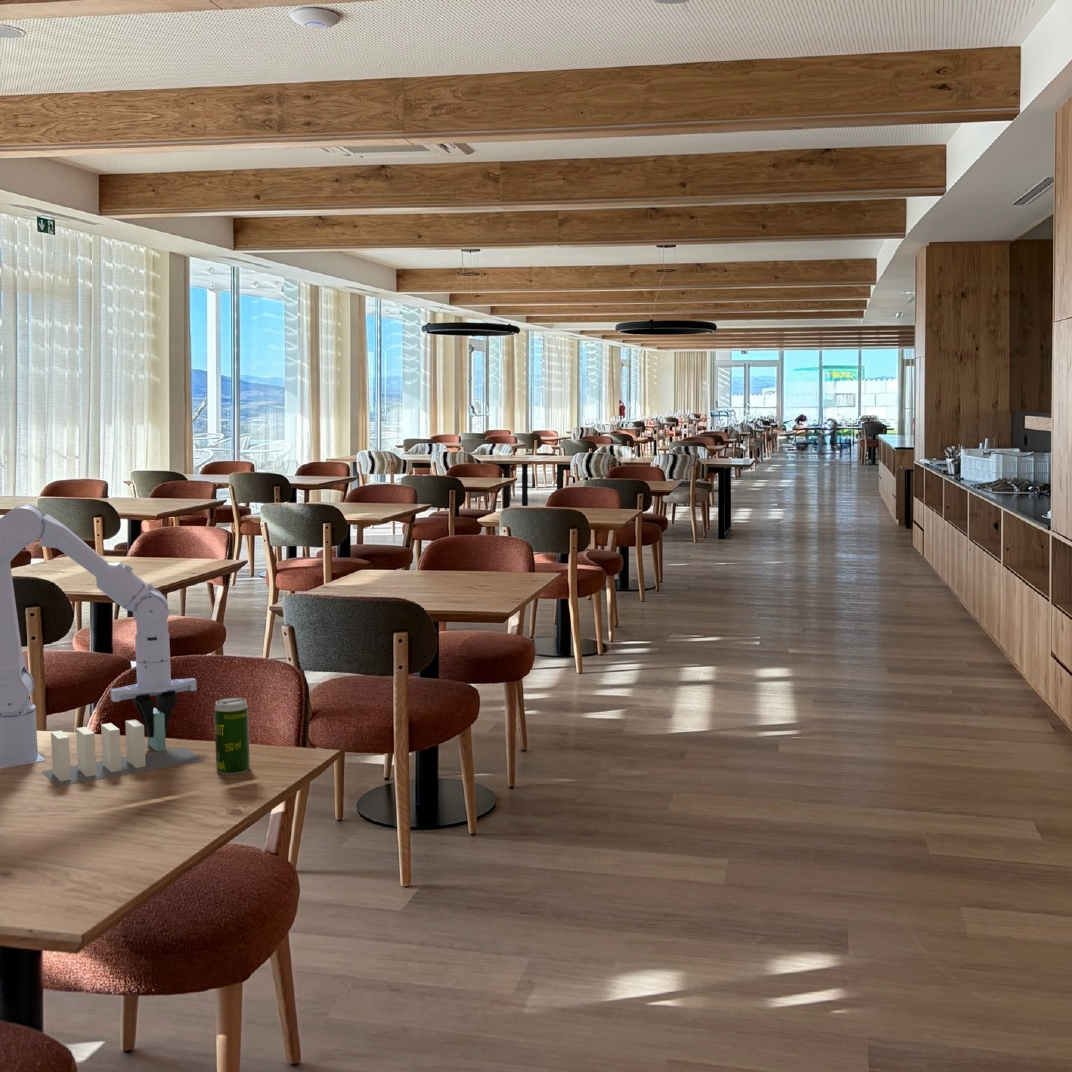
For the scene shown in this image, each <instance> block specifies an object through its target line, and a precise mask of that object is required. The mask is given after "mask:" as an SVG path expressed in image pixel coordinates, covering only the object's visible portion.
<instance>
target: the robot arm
mask: <svg viewBox="0 0 1072 1072" xmlns="http://www.w3.org/2000/svg"><path fill="white" fill-rule="evenodd" d="M37 540H40V541H39V543H38V547H45V548H53V549H57V550H59V551H60V552H62V553H63V554H64V555H66V557H68V558H70V559H71V560H72V561H74V562H76V563H77V564H78V565H79V566H81V567H82V568H84V569H85V570H86V571H88V572H89V573H90V574H92V575H93V576H94V577H95V578H96V579H95V582H96V588H97V589H98V590H99V591H101V592H102V593H103V594H104V595H106V596H107V597H108V598H109V599H111V600H112V601H113V602H114V603H116V604H117V605H119V606H120V607H121V608H122V609H124V610H125V611H129V612H132V616H133V618H134V621H135V622H136V623H135V624H136V633H135V636H134V639H135V640H134V643H135V665H136V667H135V668H136V670H135V671H136V683H134V684H131V685H126V686H125V685H124V686H122V687H115V688H110V700H111V701H112V702H114V703H116V702H117V703H118V702H121V701H125V700H130V699H131V700H132V702H133V704H134V706H135V707H136V709H137V712H138V713H139V716H140V718H141V720H142V721H141V722H142V724H143V725H144V732H145V735H146V737H147V736H148V737H149V738H152V737H153V736H154V726H153V709H154V708H155V707H154V706H155V702H154V701H153V700H152V698H151V697H152V696H155V701H156V709H158V710H160V711H161V712H163V713H164V718H165V736H167V732H168V725H169V721H170V718H171V716H172V713H173V710H174V708H175V706H176V704H177V702H178V700H179V699H178V695H177V694H176V693H180V692H181V693H182V692H187V691H190V692H194V691H197V689H198V688H197V679H195V678H193V677H190V678H180V679H179V678H176V679H172V677H171V676H172V673H171V672H172V671H171V648H170V632H169V623H168V619H169V616H170V610H169V603H168V600H167V598H166V596H165V595H163V593H162V592H161V591H160V590H157V589H154V588H155V586H154V585H153V584H152V583H148V584H147V583H146V582H145V581H144V580H142V578H140V577H139V576H138V575H136V574H135V573H134V572H133V569H134V568H133V567H132V566H131V565H130V564H128V563H126V565H124V564H123V563H122V562H120V561H119V562H108V561H107V560H105V558H103V557H102V556H101V555H100V554H99V553H98V552H96V551H95V550H94V549H93V548H92V547H91V546H90V545H88V544H87V543H86V542H85V541H84V540H82V538H80V537H79V536H78V535H77V534H75V532H73V530H71V529H70V528H68V527H67V526H66V525H65V524H63V523H62V522H60V521H59V520H57V519H56V518H54V517H53V516H52V515H49V514H48V513H47V514H45V512H43V510H42V509H41V508H40V507H38V506H36V505H34V504H29V503H24V504H20V505H17V506H15V507H14V508H13V509H11V510H9V511H8V512H6V513H5V514H4V515H2V516H1V518H0V769H6V768H10V767H12V768H13V767H17V766H22V765H23V766H24V765H30V764H34V763H35V764H37V763H41V762H46V760H45V758H44V757H43V756H42V755H41V754H40V753H39V751H38V750H39V748H38V731H37V712H36V711H37V710H36V705H35V704H33V702H32V701H31V699H30V696H31V695H32V694H33V692H34V690H35V689H34V688H35V681H34V678H33V676H32V674H31V673H30V672H29V671H28V668H27V666H26V659H25V656H24V654H23V647H22V641H21V634H20V628H19V627H20V625H19V619H18V611H17V604H16V597H15V589H14V580H13V574H12V567H11V562H12V560H13V559H14V558H15V557H16V556H17V555H18V554H19V553H20V552H21V551H22V550H23V549H24V548H26V547H28V546H29V545H31V544H33V543H34V542H36V541H37Z"/></svg>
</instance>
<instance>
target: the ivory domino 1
mask: <svg viewBox="0 0 1072 1072" xmlns="http://www.w3.org/2000/svg"><path fill="white" fill-rule="evenodd" d="M50 741H51V762H52V769H53V774H54V775H55V776H56V777H57V778H58V779H59V780H60V781H65V780H71V770H70V766H71V758H70V757H71V753H70V736H68V735H67V734H66V733H65V732H63V730H56V731H50Z"/></svg>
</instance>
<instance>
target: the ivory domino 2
mask: <svg viewBox="0 0 1072 1072" xmlns="http://www.w3.org/2000/svg"><path fill="white" fill-rule="evenodd" d="M95 734H96V733H95V732H94V731H92V729H90V728H88V727H87V726H83V727H76V749H77V765H78V770H79V771H81V772H82V773H83V774H84V775H85V776H86V777H88V776H93V775H96V762H97V757H96V735H95Z"/></svg>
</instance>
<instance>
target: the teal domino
mask: <svg viewBox="0 0 1072 1072" xmlns="http://www.w3.org/2000/svg"><path fill="white" fill-rule="evenodd" d="M153 726H154V736H153V737H152V738H149V737H148V736H146V738H147V746H149V747H150V748H152V749H153V750H155V752H158V751H164V750H167V748H166V747H167V745H166V735H165V718H164V713H163V712H161V711H160V710H158V709H157V707H154V709H153Z"/></svg>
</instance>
